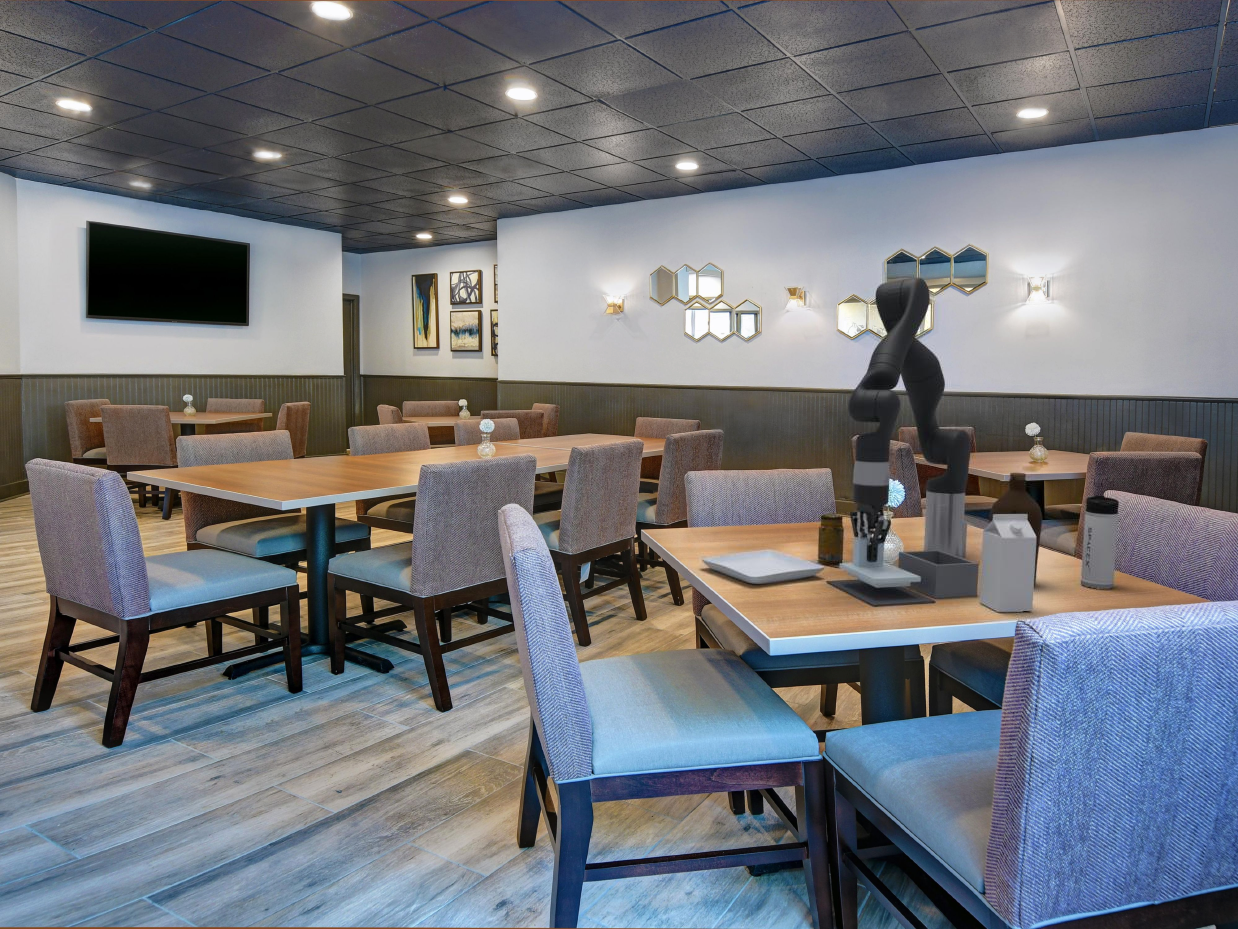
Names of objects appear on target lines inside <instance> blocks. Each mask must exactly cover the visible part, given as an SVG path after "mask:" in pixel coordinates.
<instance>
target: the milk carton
mask: <svg viewBox="0 0 1238 929" xmlns="http://www.w3.org/2000/svg"><path fill="white" fill-rule="evenodd" d="M1027 516H1028V514H993V520H992V521H991V522H990V521H989V523H988V524H987V526H986V527H985V528H984V529H983V531H982V543H981V544H982V546H981V547H982V548H981V560H980V561H981V562H980V564H981V565H980V566H981V567H980V581H979V582H980V585H979V598H978V599H979V604H982V605H984V606H986V607H987V608H989V609H991V610H992V611H995V612H997V613H1023V611H1032V612H1033V605H1034V604H1033V601H1034V589H1035V588H1034V587H1035V586H1034V572H1035V555H1036V535H1035V533H1034V531H1033V529H1032V527H1031V526H1030V524H1029V522H1028V520H1027Z"/></svg>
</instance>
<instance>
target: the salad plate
mask: <svg viewBox="0 0 1238 929" xmlns="http://www.w3.org/2000/svg"><path fill="white" fill-rule="evenodd" d="M700 559H701V561H702V562H703V564H704V565H706V566H707V567H708V568H710V569H712V570H713V571H716V572H719V573H721V574H724V575H725V576H728V577H732V578H735V579H737V580H740V581H743V582H745V583H748V584H752V585H765V584H774V583H779V582H780V583H781V582H789V581H794V580H800V579H806V578H810V577H812V576H816V575H819V573H821V572H823V571H824V569H825V568H826V567H825V565H822V564H818V563H814V562H810V561H809V560H806V559H803V558H800V557H797V556H794V555H791V554H787V553H784V552H780V551H776V550H775V549H763V550H754V551H744V552H736V553H729V554H723V555H716V556H708V557H701V558H700Z"/></svg>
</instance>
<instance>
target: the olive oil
mask: <svg viewBox="0 0 1238 929" xmlns="http://www.w3.org/2000/svg"><path fill="white" fill-rule="evenodd" d="M1009 477H1010V478H1009V481H1008V490H1007V491H1006V492H1004V493H1003V494H1002V495H1001V496H1000V497H999V498H998V499H997V500H996V501H994V503H993V504H992V506H991V508H990V511H989V523H990V522H991V521H992V520H993V514H1028V516H1027V520H1028V522H1029V524H1030V526H1031V527H1032V529H1033V531H1034V533H1035V535H1036V555H1035V572H1034V587H1035V586H1036V583H1037V582H1036V580H1037V568H1038V560H1039V551H1040V550H1039V549H1040V543H1041V542H1040V541H1041V540H1040V539H1041V534H1042V532H1041V531H1042V525H1043V514H1042V510H1041V506H1039V504H1038V502H1036V501H1035V500H1034V498H1032V497H1031V495H1030V494H1029V493H1028V492H1027V491H1026V487H1027V480H1026V477H1027V473H1025V472H1010V473H1009Z"/></svg>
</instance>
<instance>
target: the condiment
mask: <svg viewBox="0 0 1238 929" xmlns="http://www.w3.org/2000/svg"><path fill="white" fill-rule="evenodd" d="M843 519H844V518H843V516H842V515H840V514H834V513H833V514H832V513H831V514H830V513H829V514H828V513H826V514H821V515H820V525H819V526H818V539H817V540H818V542H817V543H818V544H817V545H818V546H817V547H818V548H817V560H811V561H810V562H812V563H815V564H818V565H822V566H825V565H826V566H830V567H836V568H839V567H840V563H851V561H846V560H845V561H844V538H845V535H844V534H845V532H844V531H845V529H844V526H843Z"/></svg>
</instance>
